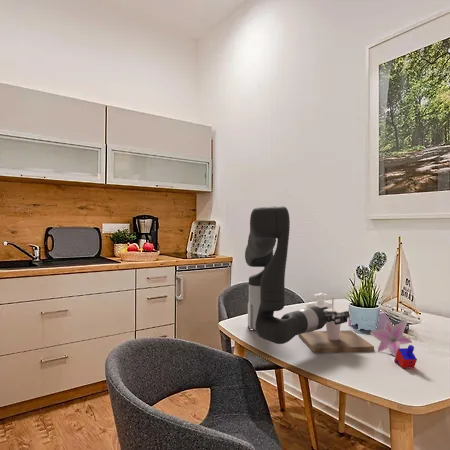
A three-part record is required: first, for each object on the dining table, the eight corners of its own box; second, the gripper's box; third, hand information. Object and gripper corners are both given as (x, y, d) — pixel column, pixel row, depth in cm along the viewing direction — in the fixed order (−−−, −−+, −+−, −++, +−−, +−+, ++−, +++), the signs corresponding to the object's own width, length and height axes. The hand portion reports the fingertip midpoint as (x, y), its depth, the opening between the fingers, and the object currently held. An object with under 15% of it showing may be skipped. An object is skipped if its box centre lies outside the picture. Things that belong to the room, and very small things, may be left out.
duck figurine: (306, 320, 171) (311, 303, 163) (302, 306, 176) (307, 290, 169) (332, 319, 171) (338, 303, 164) (328, 306, 177) (333, 289, 170)
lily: (367, 348, 131) (363, 326, 127) (396, 332, 133) (393, 311, 129) (392, 371, 120) (388, 349, 116) (423, 354, 122) (420, 332, 118)
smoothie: (340, 336, 135) (340, 296, 135) (344, 341, 129) (344, 300, 129) (322, 335, 136) (322, 296, 136) (325, 341, 130) (325, 300, 129)
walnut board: (313, 352, 123) (314, 348, 123) (298, 335, 141) (298, 331, 140) (374, 351, 124) (374, 346, 124) (351, 334, 142) (351, 330, 142)
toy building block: (400, 372, 111) (407, 352, 107) (394, 361, 115) (400, 341, 111) (412, 372, 111) (419, 352, 107) (405, 360, 115) (412, 341, 111)
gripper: (326, 312, 118) (355, 304, 128) (290, 304, 128) (320, 297, 139) (326, 336, 118) (355, 326, 128) (290, 326, 129) (320, 318, 139)
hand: (337, 311), depth 133 cm, fingers open, 8 cm apart
